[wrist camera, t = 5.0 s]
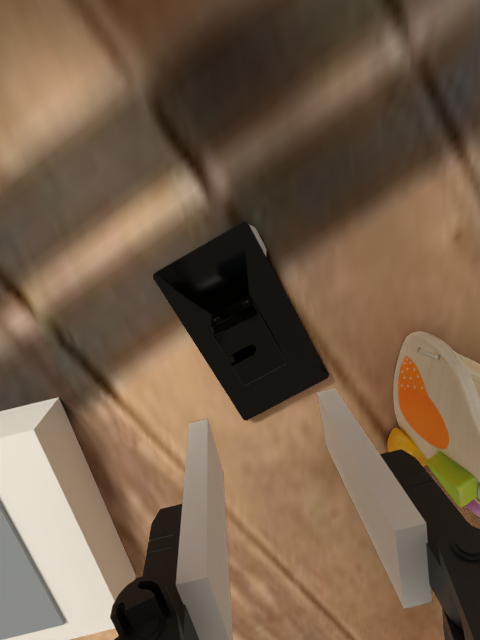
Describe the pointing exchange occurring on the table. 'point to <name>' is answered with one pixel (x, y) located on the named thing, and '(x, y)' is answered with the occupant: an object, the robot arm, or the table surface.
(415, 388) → the shape sorter
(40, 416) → the plinth
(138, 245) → the table surface
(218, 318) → the black stand
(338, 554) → the table surface
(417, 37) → the table surface
